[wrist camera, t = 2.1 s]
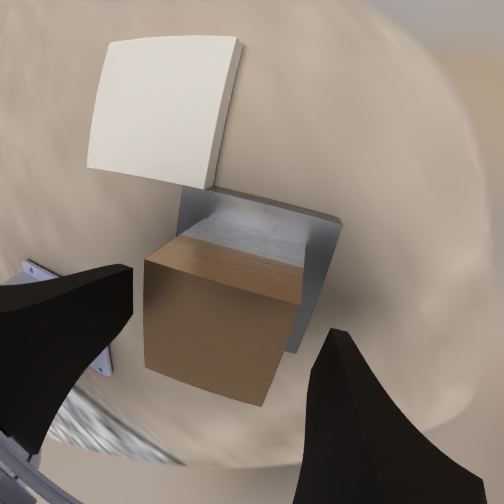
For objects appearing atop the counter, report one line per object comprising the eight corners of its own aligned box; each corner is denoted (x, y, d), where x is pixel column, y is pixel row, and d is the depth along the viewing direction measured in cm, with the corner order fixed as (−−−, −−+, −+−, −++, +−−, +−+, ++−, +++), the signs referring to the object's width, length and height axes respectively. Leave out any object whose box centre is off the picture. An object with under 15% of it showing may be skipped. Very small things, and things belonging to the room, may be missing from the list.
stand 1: (100, 164, 14) (86, 166, 13) (122, 47, 11) (109, 42, 10) (212, 186, 13) (203, 189, 12) (243, 45, 10) (236, 36, 9)
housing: (192, 303, 14) (145, 366, 9) (204, 218, 12) (144, 259, 8) (279, 329, 14) (261, 406, 9) (305, 244, 12) (300, 304, 7)
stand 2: (178, 304, 16) (169, 315, 15) (193, 181, 13) (182, 184, 12) (297, 340, 15) (296, 353, 14) (339, 218, 12) (342, 224, 11)
